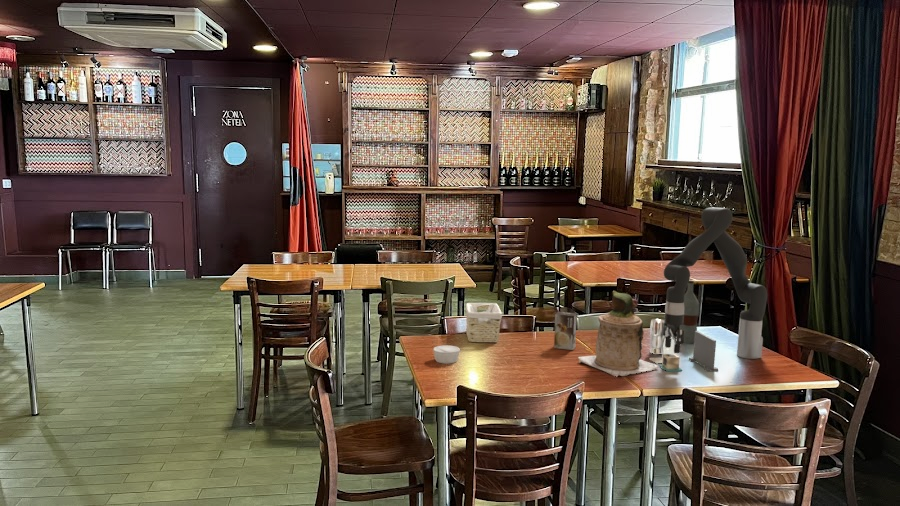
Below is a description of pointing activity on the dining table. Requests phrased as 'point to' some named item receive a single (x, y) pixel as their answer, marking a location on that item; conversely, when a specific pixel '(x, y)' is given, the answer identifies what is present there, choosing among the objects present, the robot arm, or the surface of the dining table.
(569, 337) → the coffee box
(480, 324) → the storage basket
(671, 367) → the beige cube
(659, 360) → the pad
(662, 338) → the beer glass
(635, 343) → the cookie jar
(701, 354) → the screen
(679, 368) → the pad
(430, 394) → the dining table surface
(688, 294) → the bottle
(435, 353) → the ramekin
